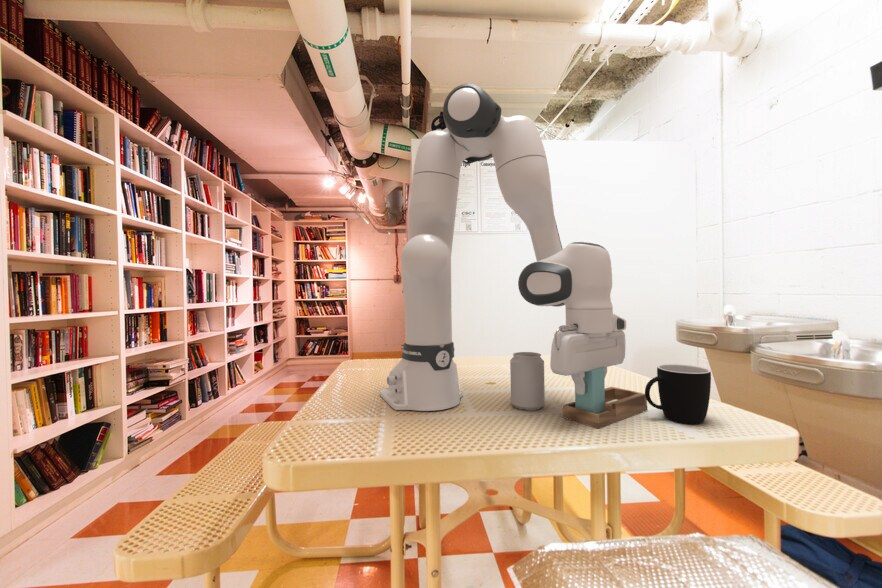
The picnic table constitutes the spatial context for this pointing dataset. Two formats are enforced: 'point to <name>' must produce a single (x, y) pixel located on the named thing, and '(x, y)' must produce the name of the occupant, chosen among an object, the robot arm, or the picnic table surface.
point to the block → (592, 392)
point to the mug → (682, 392)
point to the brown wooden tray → (609, 408)
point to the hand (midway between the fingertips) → (589, 391)
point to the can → (527, 380)
